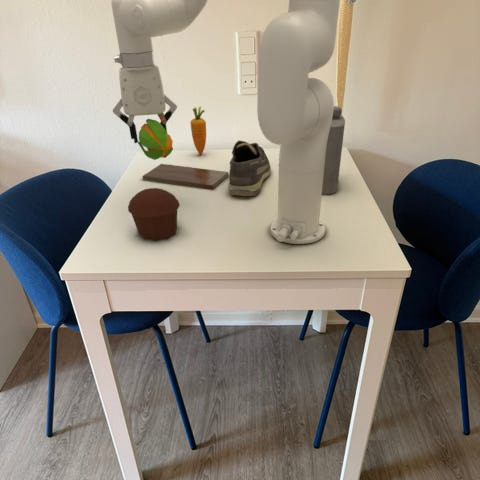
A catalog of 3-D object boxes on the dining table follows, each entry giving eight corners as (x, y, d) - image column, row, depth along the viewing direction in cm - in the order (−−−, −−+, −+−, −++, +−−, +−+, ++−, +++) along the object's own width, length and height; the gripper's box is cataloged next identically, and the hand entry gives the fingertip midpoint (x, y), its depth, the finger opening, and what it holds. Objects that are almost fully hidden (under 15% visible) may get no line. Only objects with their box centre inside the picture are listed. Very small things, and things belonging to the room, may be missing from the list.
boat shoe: (272, 162, 139) (272, 126, 133) (267, 200, 117) (267, 159, 110) (237, 162, 140) (236, 126, 134) (226, 199, 118) (224, 159, 111)
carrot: (202, 151, 150) (198, 103, 140) (211, 154, 146) (207, 106, 137) (190, 154, 147) (185, 106, 138) (199, 158, 144) (194, 109, 135)
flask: (339, 194, 118) (349, 115, 106) (318, 194, 118) (325, 115, 106) (334, 174, 130) (342, 100, 117) (314, 174, 130) (320, 100, 118)
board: (212, 189, 123) (212, 185, 123) (143, 179, 131) (142, 175, 130) (228, 175, 131) (228, 171, 131) (161, 167, 138) (161, 163, 138)
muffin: (185, 220, 108) (180, 181, 102) (180, 242, 100) (175, 200, 94) (137, 222, 109) (129, 182, 102) (128, 244, 100) (119, 202, 94)
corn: (144, 131, 97) (126, 112, 112) (148, 166, 102) (130, 143, 116) (176, 129, 100) (155, 110, 114) (179, 163, 104) (158, 141, 119)
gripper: (98, 65, 98) (114, 147, 110) (175, 60, 100) (184, 142, 111) (101, 60, 104) (116, 138, 115) (174, 56, 106) (182, 133, 117)
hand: (149, 139), depth 113 cm, fingers closed on corn, 6 cm apart
